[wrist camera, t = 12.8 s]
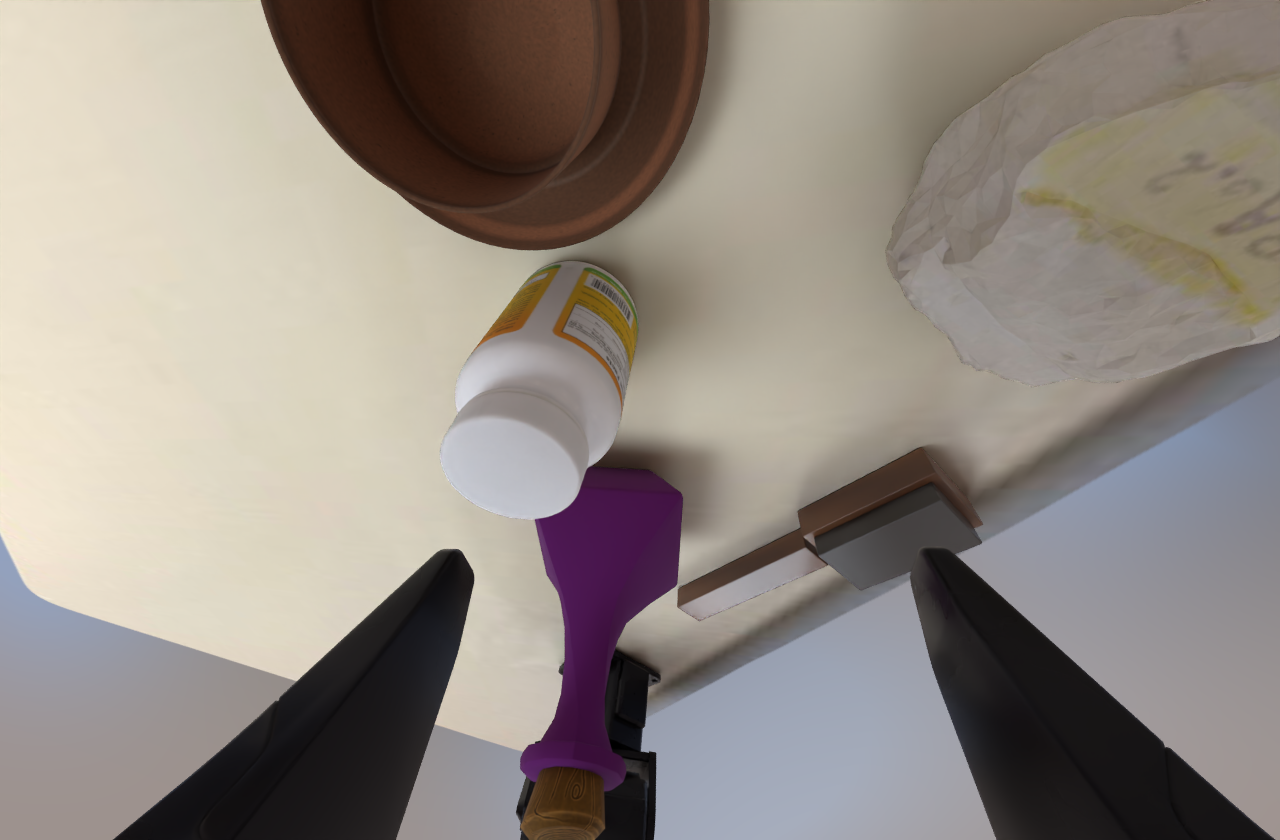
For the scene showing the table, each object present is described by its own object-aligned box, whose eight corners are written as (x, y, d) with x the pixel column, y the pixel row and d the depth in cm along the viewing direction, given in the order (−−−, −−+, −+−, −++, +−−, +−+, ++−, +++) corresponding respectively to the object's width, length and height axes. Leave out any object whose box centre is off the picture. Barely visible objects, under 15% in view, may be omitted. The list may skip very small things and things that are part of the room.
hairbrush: (711, 611, 34) (712, 652, 31) (664, 579, 32) (661, 621, 30) (967, 498, 25) (996, 544, 23) (921, 446, 23) (946, 491, 21)
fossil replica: (1117, 345, 19) (1311, 31, 14) (1380, 478, 12) (1978, -49, 7) (821, 338, 19) (899, 21, 14) (918, 466, 12) (1150, -68, 7)
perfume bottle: (678, 539, 29) (660, 994, 15) (560, 531, 30) (436, 959, 16) (685, 448, 25) (667, 977, 11) (544, 440, 25) (350, 930, 11)
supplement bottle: (523, 364, 23) (432, 524, 15) (512, 250, 19) (389, 382, 12) (635, 377, 22) (602, 547, 15) (645, 265, 19) (609, 407, 11)
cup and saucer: (317, 142, 17) (170, 177, 13) (325, -431, 10) (-2, -856, 5) (616, 285, 20) (589, 361, 15) (791, -104, 13) (850, -200, 8)
